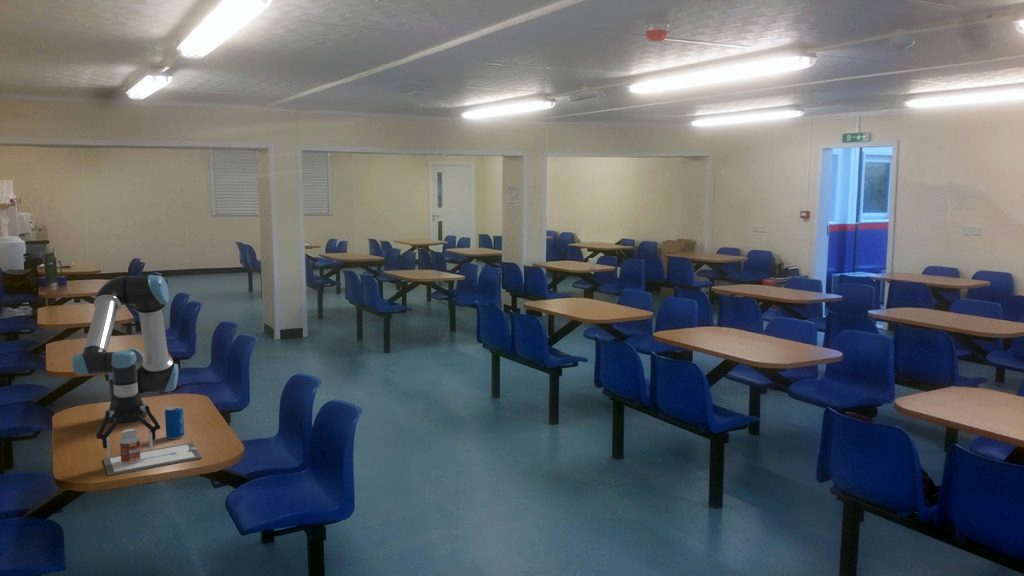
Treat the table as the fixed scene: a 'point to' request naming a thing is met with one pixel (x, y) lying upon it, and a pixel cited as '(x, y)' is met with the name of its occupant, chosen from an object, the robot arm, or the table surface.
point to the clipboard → (153, 459)
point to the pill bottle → (129, 447)
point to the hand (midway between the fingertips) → (130, 452)
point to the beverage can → (174, 422)
